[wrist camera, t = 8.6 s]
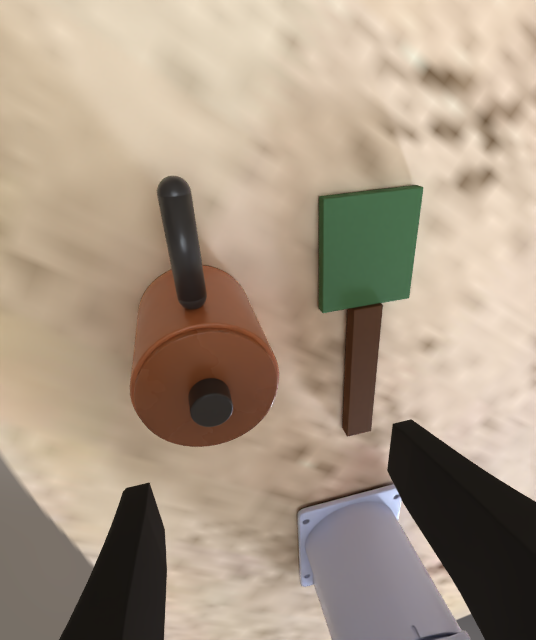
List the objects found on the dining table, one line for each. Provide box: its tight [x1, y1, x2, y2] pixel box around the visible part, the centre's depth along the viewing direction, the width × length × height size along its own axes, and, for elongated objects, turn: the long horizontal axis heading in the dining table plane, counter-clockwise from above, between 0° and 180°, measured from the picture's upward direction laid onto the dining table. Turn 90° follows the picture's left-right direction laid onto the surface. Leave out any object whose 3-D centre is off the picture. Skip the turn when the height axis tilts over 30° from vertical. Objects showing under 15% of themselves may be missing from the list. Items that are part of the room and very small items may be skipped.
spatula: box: [319, 185, 423, 436], centre depth 21 cm, size 14×5×1 cm, turn 4°
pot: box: [130, 176, 279, 447], centre depth 14 cm, size 10×5×7 cm, turn 4°
